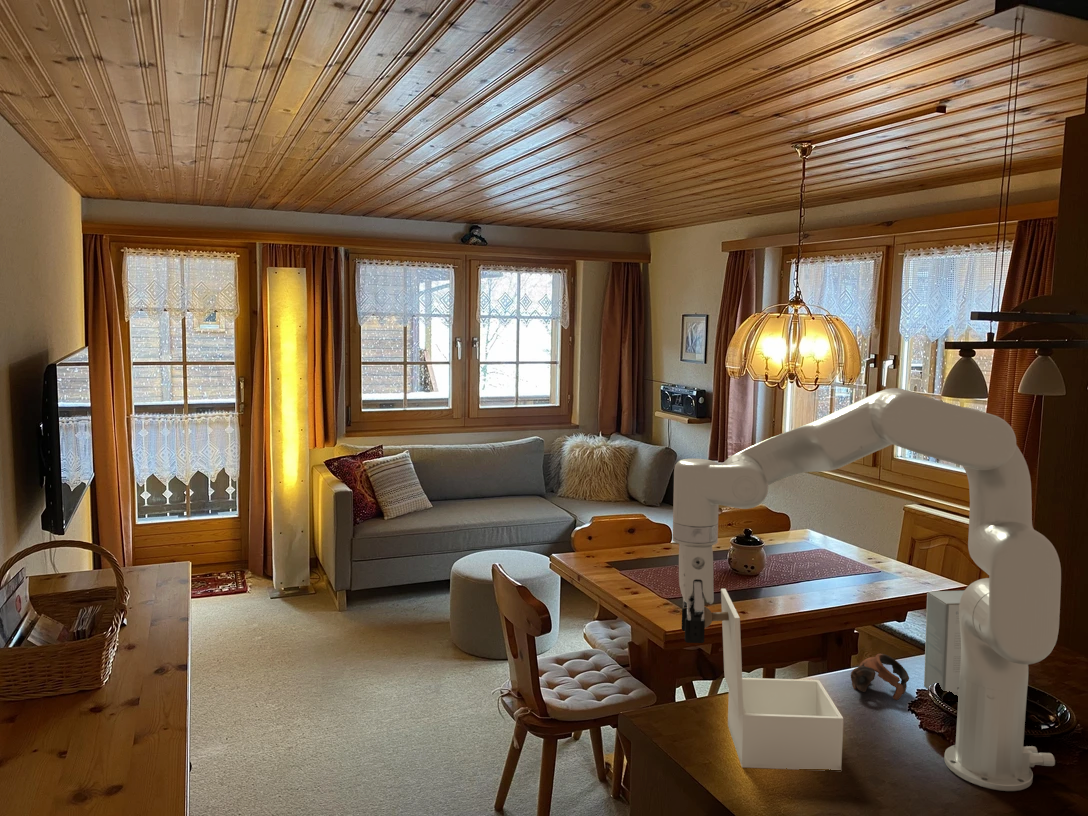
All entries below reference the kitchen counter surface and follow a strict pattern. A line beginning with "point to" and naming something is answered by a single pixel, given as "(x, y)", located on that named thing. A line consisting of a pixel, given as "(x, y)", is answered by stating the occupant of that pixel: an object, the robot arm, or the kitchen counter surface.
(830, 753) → the carton
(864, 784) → the kitchen counter surface
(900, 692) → the broken clay pot
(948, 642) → the hard drive box
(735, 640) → the carton lid
